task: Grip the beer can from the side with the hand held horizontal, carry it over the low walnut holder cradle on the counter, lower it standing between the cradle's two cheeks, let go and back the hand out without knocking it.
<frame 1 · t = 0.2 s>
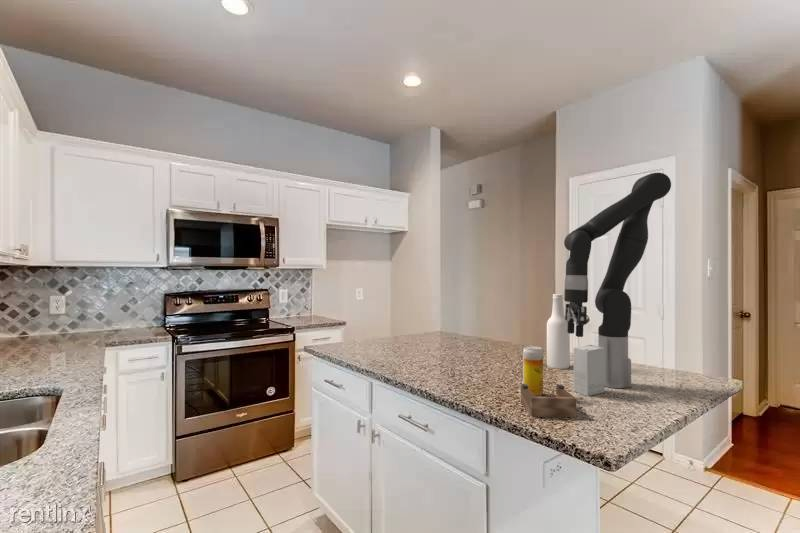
hand: (574, 335, 143), 17 cm above the worktop, tool pointing down, fingers open, 8 cm apart
holder: (546, 408, 118), on the worktop
alcohol: (558, 367, 169), on the worktop
beer can: (532, 395, 132), on the worktop
skincare box: (589, 393, 134), on the worktop
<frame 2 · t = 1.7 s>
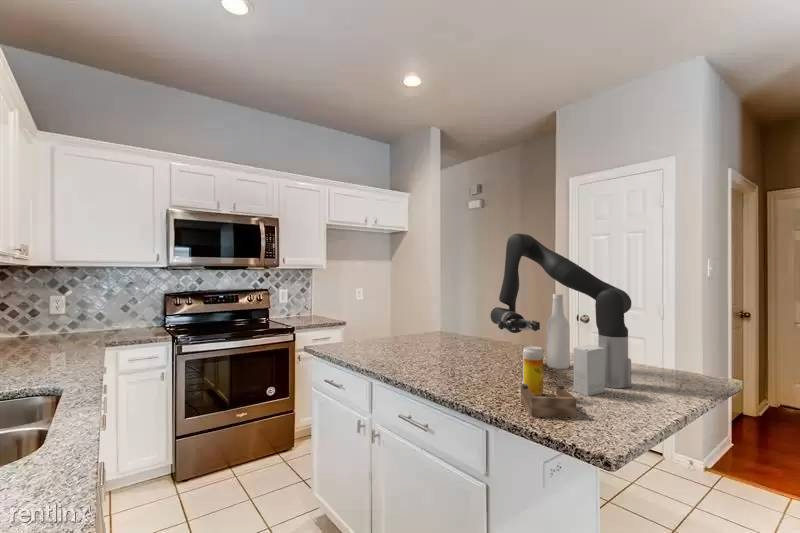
hand: (523, 327, 143), 20 cm above the worktop, tool horizontal, fingers open, 8 cm apart
nothing on the worktop moved.
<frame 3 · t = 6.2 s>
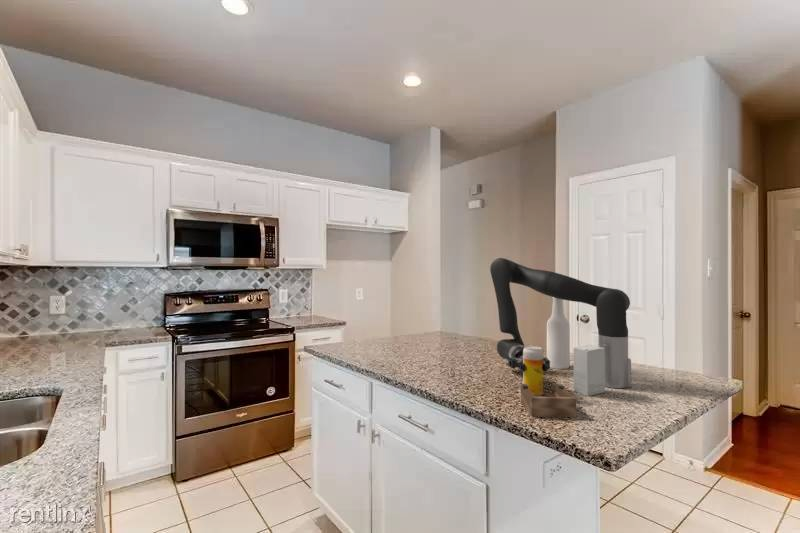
hand: (535, 368, 130), 9 cm above the worktop, tool horizontal, fingers closed on beer can, 6 cm apart
beer can: (532, 395, 132), on the worktop, touching gripper
everything else where it was.
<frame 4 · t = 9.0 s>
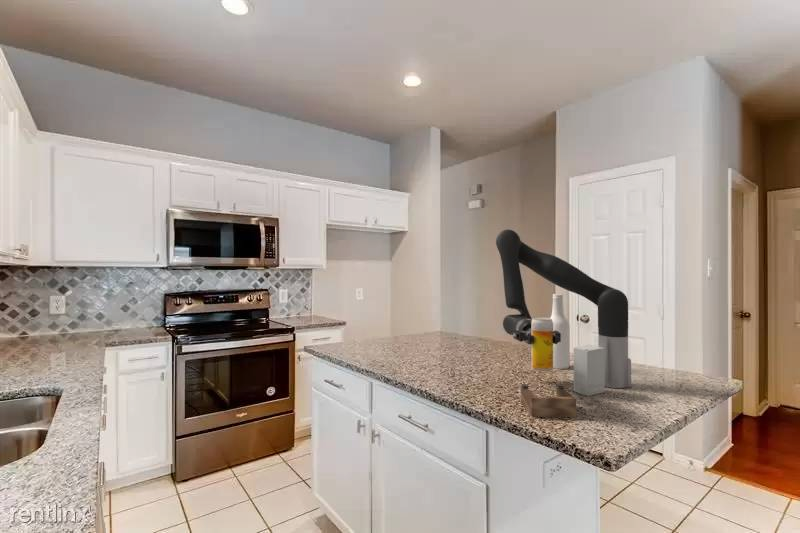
hand: (544, 340, 118), 20 cm above the worktop, tool horizontal, fingers closed on beer can, 6 cm apart
beer can: (542, 369, 121), point 11 cm above the worktop, touching gripper
everything else where it was.
when the fingers open (11 cm above the worktop, at t = 11.5 s): beer can drops 2 cm, resting in holder.
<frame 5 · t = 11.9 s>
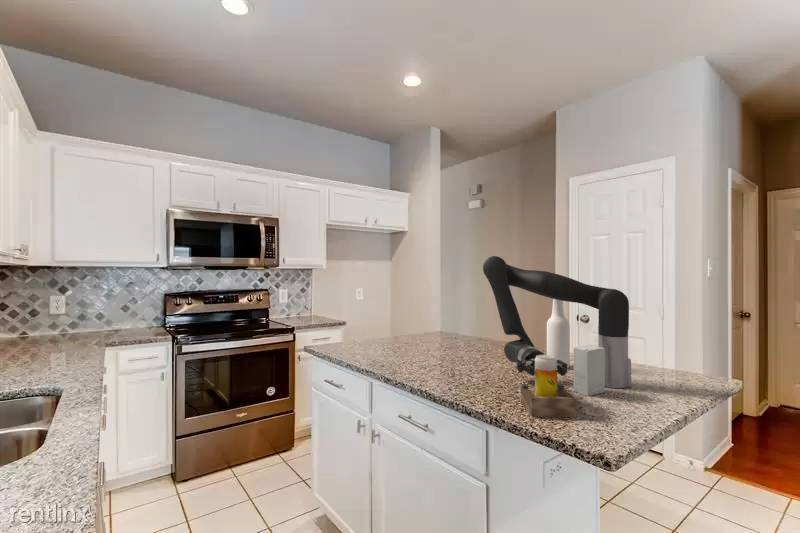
hand: (548, 372, 117), 11 cm above the worktop, tool horizontal, fingers open, 8 cm apart
beer can: (545, 409, 119), resting in holder
everything else where it was.
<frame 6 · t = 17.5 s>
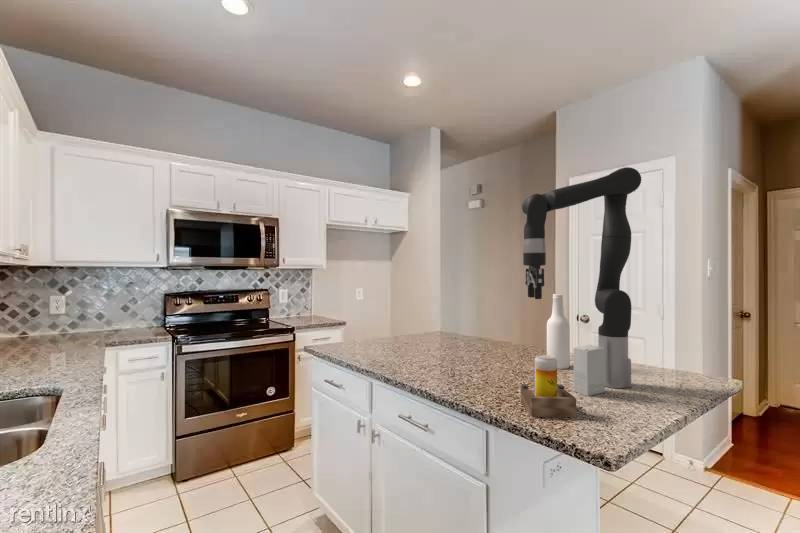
hand: (534, 298, 144), 30 cm above the worktop, tool pointing down, fingers open, 8 cm apart
nothing on the worktop moved.
at the end: beer can 0.2 cm from the holder (horizontally); beer can tilted 0°; the gripper is holding nothing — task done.
